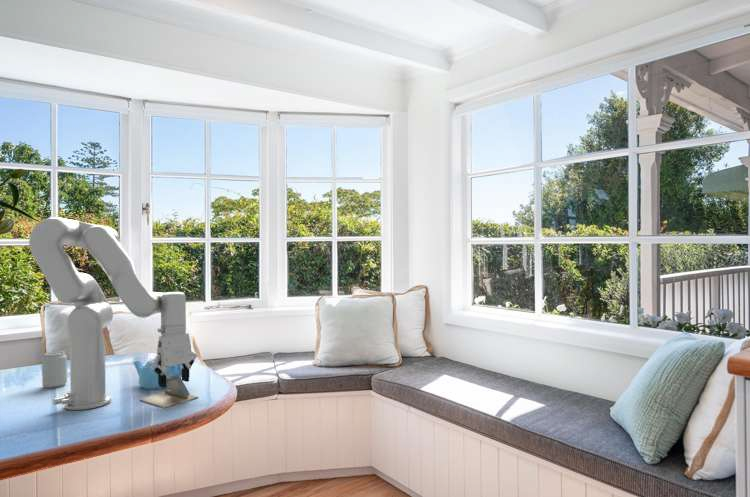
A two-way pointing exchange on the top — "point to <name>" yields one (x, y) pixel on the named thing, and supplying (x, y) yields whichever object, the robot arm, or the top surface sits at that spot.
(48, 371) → the can
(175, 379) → the tile
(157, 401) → the wooden ridged plate
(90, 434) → the top surface
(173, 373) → the teapot
